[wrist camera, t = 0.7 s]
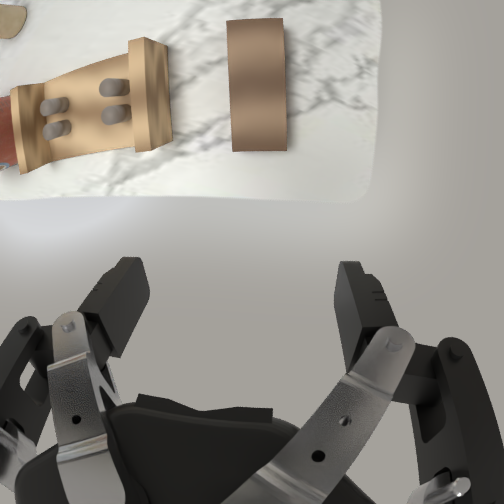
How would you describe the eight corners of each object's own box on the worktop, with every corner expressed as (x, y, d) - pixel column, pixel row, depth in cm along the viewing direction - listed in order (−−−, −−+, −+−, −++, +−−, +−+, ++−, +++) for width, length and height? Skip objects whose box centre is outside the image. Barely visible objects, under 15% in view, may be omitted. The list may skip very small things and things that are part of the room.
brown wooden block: (232, 30, 23) (226, 20, 19) (281, 28, 22) (282, 18, 19) (237, 145, 29) (232, 151, 26) (285, 144, 29) (286, 150, 25)
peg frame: (40, 86, 25) (10, 90, 20) (167, 46, 24) (144, 36, 18) (49, 161, 30) (20, 174, 25) (172, 140, 29) (151, 150, 24)
